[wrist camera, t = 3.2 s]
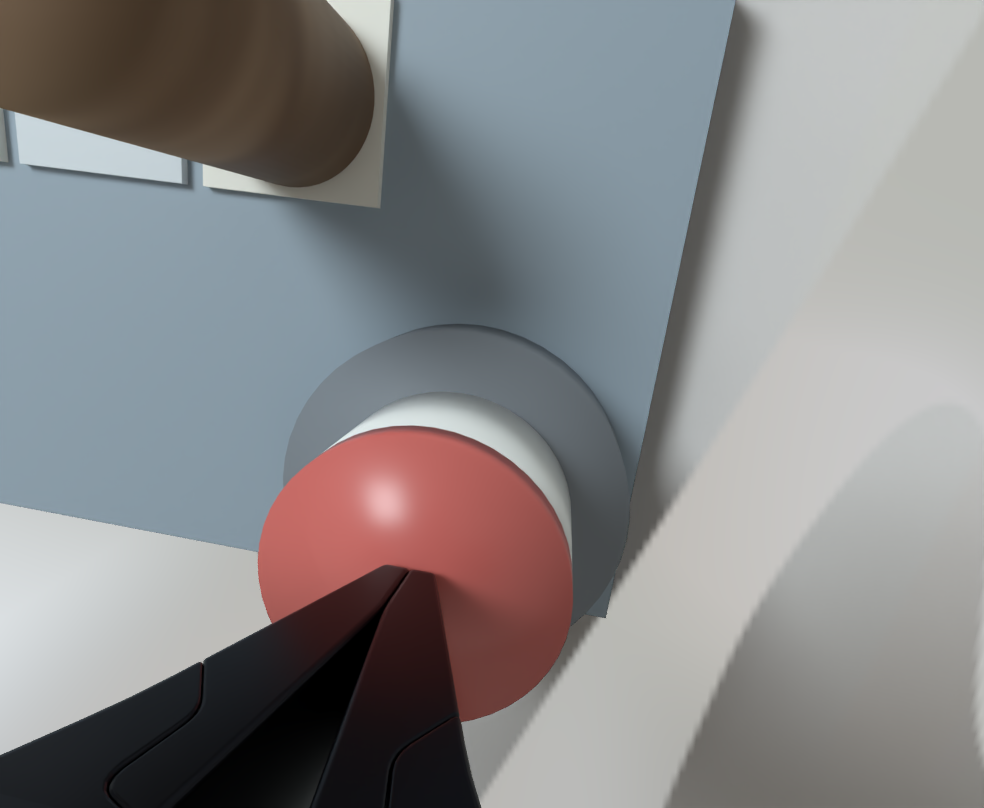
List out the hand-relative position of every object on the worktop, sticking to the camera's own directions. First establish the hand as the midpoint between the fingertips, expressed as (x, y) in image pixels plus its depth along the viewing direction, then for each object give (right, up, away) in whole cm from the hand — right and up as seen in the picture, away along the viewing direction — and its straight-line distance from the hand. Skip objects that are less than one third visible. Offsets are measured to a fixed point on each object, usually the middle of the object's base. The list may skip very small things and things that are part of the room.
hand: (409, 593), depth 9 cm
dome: (0, +1, +3) cm, 3 cm away
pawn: (-3, +10, +2) cm, 10 cm away
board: (-7, +7, +5) cm, 11 cm away
